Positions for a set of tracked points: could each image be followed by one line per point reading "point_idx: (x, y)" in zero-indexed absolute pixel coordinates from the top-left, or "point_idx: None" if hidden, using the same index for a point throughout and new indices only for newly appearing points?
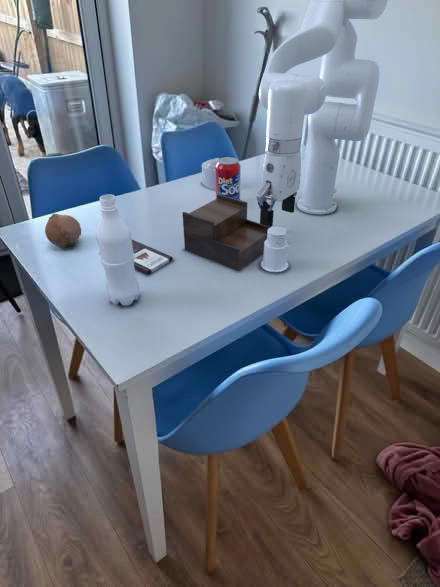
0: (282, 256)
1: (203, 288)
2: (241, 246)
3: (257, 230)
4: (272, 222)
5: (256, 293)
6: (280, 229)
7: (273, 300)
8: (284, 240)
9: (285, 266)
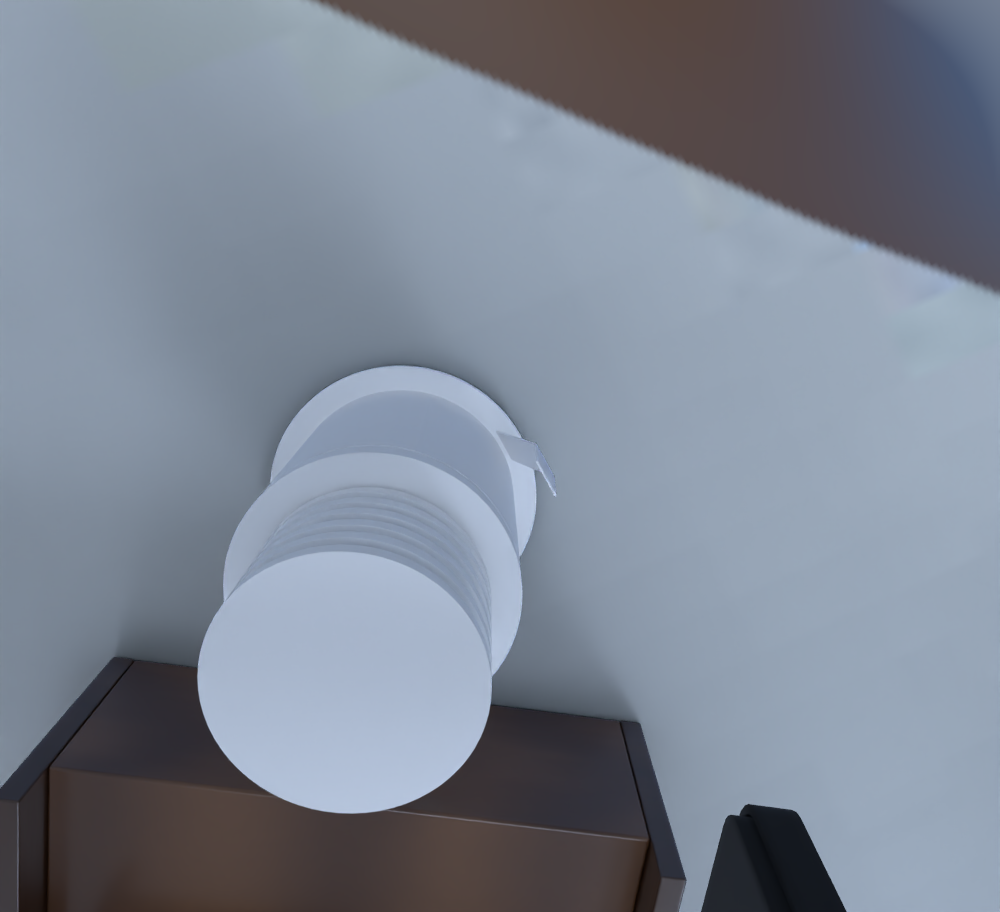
0: (451, 442)
1: (983, 831)
2: (520, 880)
3: (106, 888)
4: (800, 863)
5: (898, 451)
6: (275, 662)
7: (946, 276)
8: (382, 512)
9: (388, 390)
